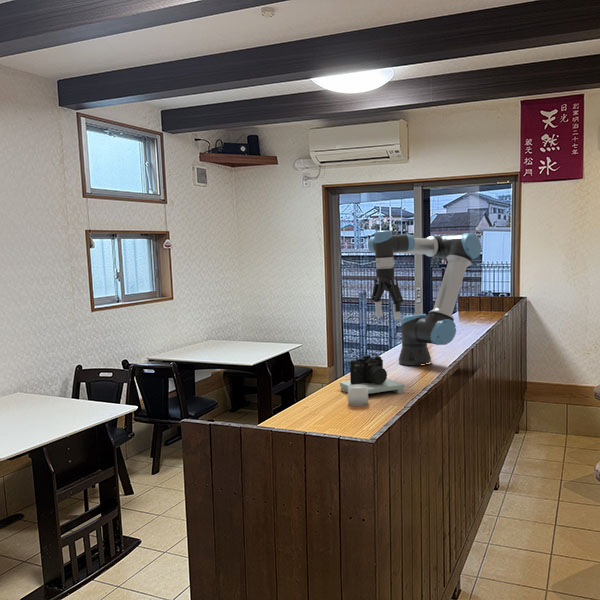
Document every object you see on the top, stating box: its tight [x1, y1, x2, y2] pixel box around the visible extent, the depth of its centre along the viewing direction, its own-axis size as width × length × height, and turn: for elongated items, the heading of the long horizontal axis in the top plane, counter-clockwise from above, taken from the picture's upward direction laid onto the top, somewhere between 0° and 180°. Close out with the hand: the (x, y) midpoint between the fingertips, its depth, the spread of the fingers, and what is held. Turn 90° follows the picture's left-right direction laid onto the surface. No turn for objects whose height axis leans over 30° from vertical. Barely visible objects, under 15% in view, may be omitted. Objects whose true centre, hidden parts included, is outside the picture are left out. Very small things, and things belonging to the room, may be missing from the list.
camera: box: [349, 355, 388, 384], centre depth 213 cm, size 14×11×10 cm
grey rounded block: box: [347, 384, 369, 407], centre depth 196 cm, size 7×7×6 cm
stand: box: [339, 378, 406, 395], centre depth 213 cm, size 19×16×3 cm
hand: (387, 318), depth 235 cm, fingers open, 13 cm apart
